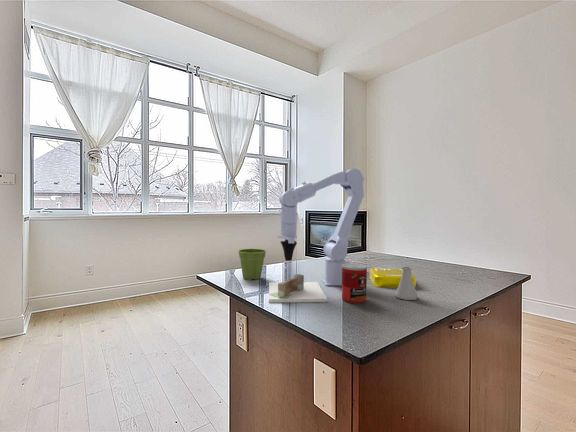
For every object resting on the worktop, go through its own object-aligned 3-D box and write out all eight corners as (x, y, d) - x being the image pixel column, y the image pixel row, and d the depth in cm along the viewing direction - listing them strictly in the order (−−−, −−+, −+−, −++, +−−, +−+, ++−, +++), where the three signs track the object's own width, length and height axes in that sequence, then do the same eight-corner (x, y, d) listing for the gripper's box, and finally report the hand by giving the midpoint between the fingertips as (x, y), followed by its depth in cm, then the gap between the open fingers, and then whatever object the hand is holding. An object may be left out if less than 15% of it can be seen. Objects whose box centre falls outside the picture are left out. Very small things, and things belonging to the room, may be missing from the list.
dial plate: (317, 284, 114) (317, 281, 114) (326, 302, 94) (326, 298, 94) (269, 285, 113) (269, 281, 113) (268, 302, 93) (268, 298, 93)
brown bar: (296, 286, 106) (296, 273, 106) (305, 288, 104) (305, 275, 104) (275, 295, 96) (275, 281, 96) (285, 297, 94) (285, 283, 94)
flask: (417, 295, 102) (418, 265, 102) (418, 302, 95) (419, 270, 95) (394, 293, 105) (395, 264, 104) (394, 299, 98) (395, 268, 97)
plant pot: (265, 281, 118) (265, 253, 117) (234, 281, 118) (234, 252, 118) (267, 274, 130) (268, 248, 129) (240, 274, 130) (240, 248, 129)
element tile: (374, 288, 112) (375, 275, 112) (368, 278, 127) (369, 266, 127) (417, 289, 111) (417, 276, 110) (406, 279, 125) (406, 267, 125)
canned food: (352, 305, 92) (353, 269, 91) (336, 297, 99) (336, 264, 98) (371, 301, 95) (372, 266, 95) (354, 294, 102) (355, 262, 102)
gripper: (275, 222, 118) (275, 257, 119) (280, 225, 104) (279, 264, 105) (293, 222, 119) (293, 256, 120) (300, 225, 105) (300, 264, 106)
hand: (288, 260), depth 112 cm, fingers closed
